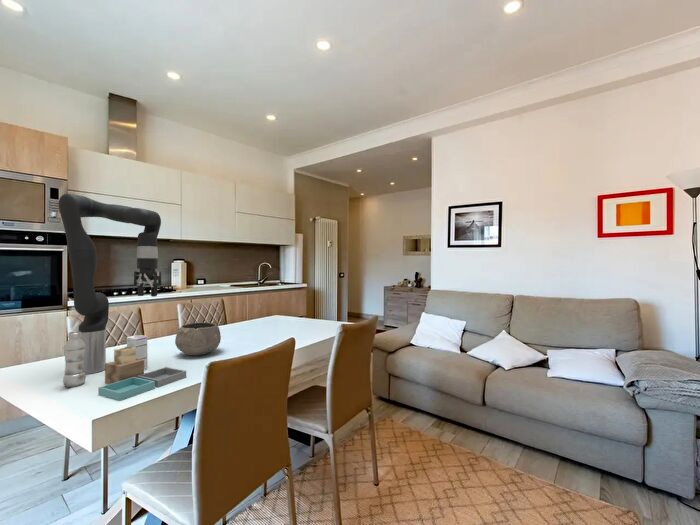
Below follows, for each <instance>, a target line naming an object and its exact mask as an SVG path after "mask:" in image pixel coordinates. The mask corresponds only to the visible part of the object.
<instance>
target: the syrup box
mask: <svg viewBox="0 0 700 525" xmlns="http://www.w3.org/2000/svg"><path fill="white" fill-rule="evenodd" d="M126 347H133V348H136V359H141V360H144V369H145V370H148V369H147V368H148V366H149V365H148V361H149V360H148V356H149V355H148V336H147V335H144V334H143V335H142V334H136V335H131V336H127V337H126Z"/></svg>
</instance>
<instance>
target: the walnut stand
mask: <svg viewBox="0 0 700 525" xmlns="http://www.w3.org/2000/svg"><path fill="white" fill-rule="evenodd" d="M142 374H145V370H144V360H141V359H136V361H133V362H129V363H125V364H118V363H114V360H113V361H109V362H106V363H105V370H104V384H105V385H109V384H112V383H115V382H119V381H122V380H125V379H128V378H132V377H137V376H138V375H142Z"/></svg>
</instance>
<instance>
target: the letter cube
mask: <svg viewBox="0 0 700 525" xmlns="http://www.w3.org/2000/svg"><path fill="white" fill-rule="evenodd" d="M113 351H114V352H113V361H114V363H118V364H125V363H129V362H133V361H136V348H133V347H127V346H124V347H120V348H119V347H118V348H114V349H113Z"/></svg>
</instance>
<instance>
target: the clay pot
mask: <svg viewBox="0 0 700 525" xmlns="http://www.w3.org/2000/svg"><path fill="white" fill-rule="evenodd" d="M221 337H222V336H221V331H220V327H219V326H218V325H217V323H215V322H214V323H213V322H191V323H187V324H183V325H180V327H179V329H178V331H177V332H176V336H175V341H174V342H175V343H174V344H175V346H176V348H177V349H178V350H179V351H180V352H182V353H183V354H187V355H190V356H202V355H206V354H209V353H211V352H213V351H214V350H216V349H217V348H218V347H219V346H220V343H221V340H222V338H221Z"/></svg>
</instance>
